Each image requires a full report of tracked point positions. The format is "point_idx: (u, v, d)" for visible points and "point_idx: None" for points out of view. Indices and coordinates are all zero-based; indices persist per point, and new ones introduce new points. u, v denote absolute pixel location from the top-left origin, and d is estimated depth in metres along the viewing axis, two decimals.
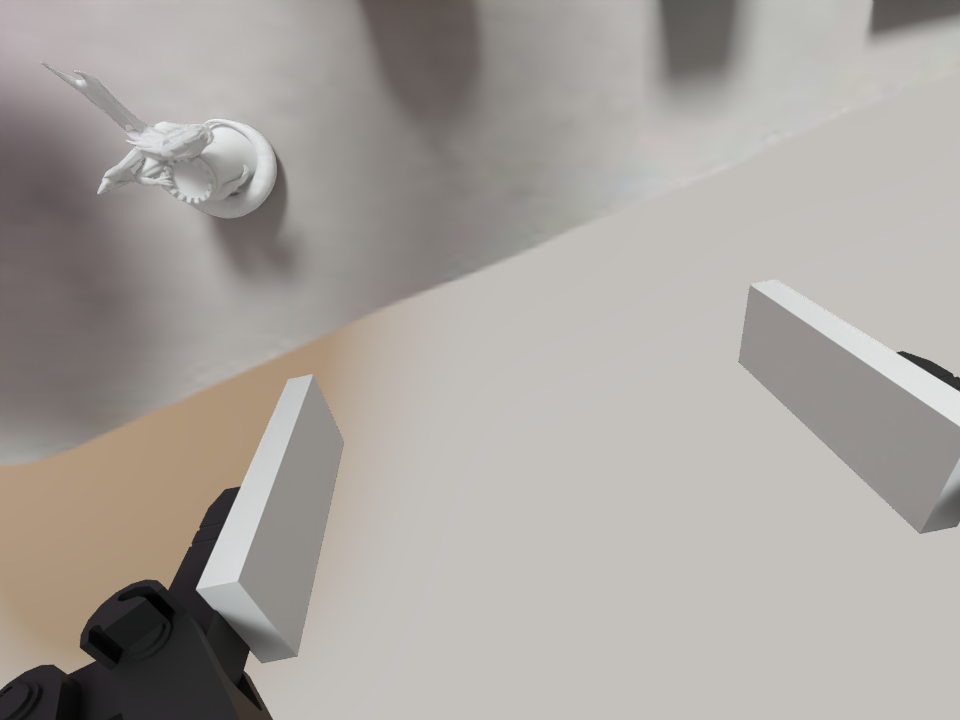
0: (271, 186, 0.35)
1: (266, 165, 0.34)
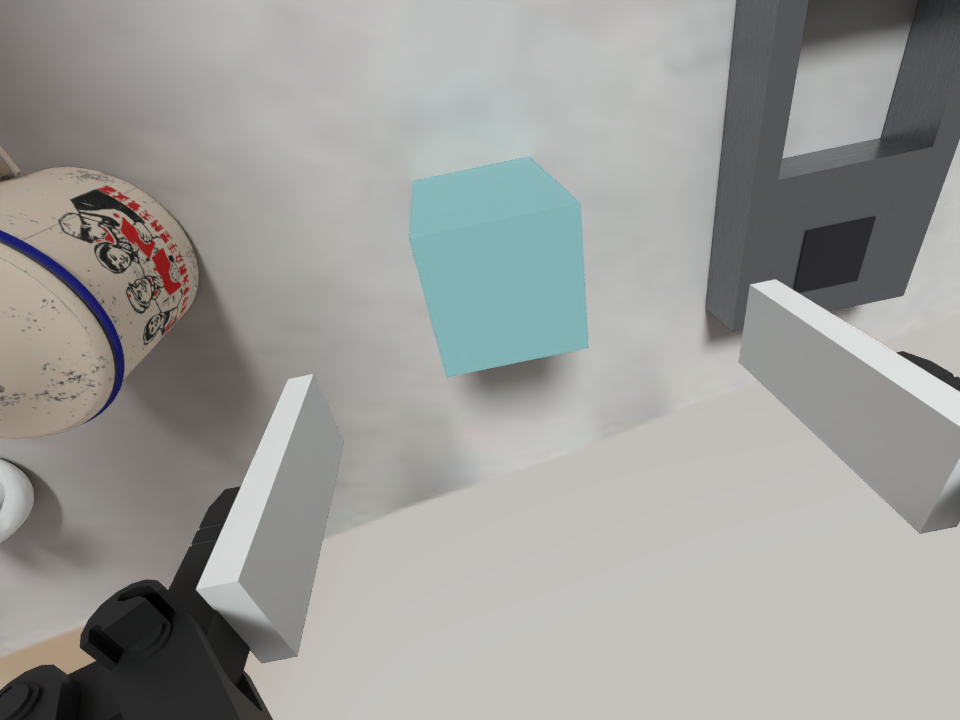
0: (25, 514, 0.31)
1: (13, 498, 0.30)
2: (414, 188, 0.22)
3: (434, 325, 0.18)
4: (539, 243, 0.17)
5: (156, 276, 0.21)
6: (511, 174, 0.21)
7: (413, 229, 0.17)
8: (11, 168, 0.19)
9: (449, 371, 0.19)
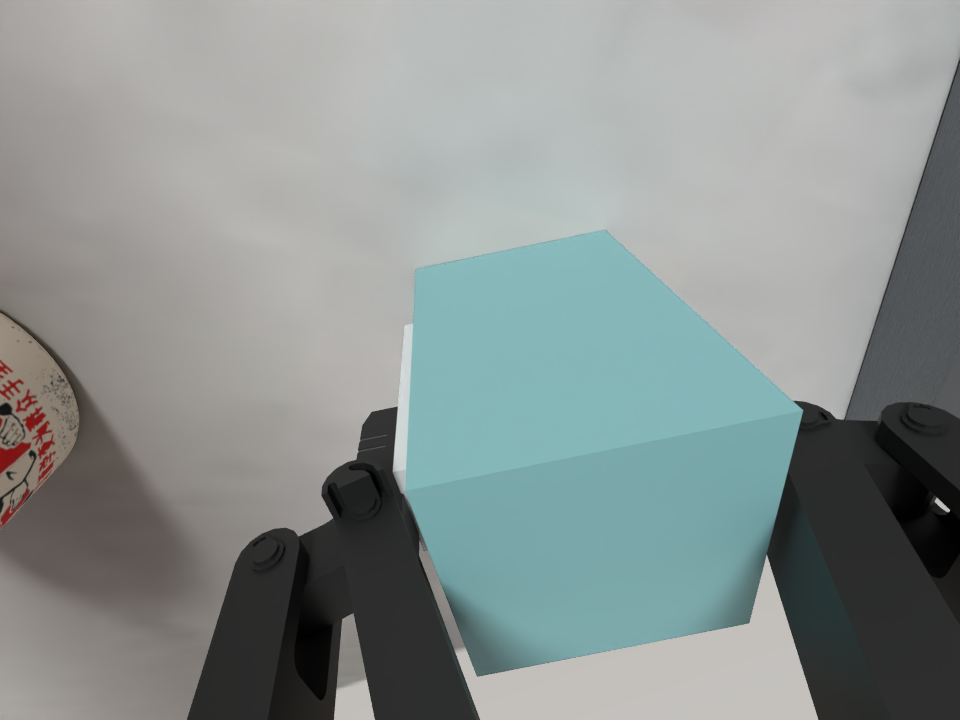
0: None
1: None
2: (418, 291, 0.13)
3: (457, 615, 0.09)
4: (693, 483, 0.08)
5: None
6: (589, 276, 0.12)
7: (415, 447, 0.08)
8: None
9: (483, 669, 0.10)
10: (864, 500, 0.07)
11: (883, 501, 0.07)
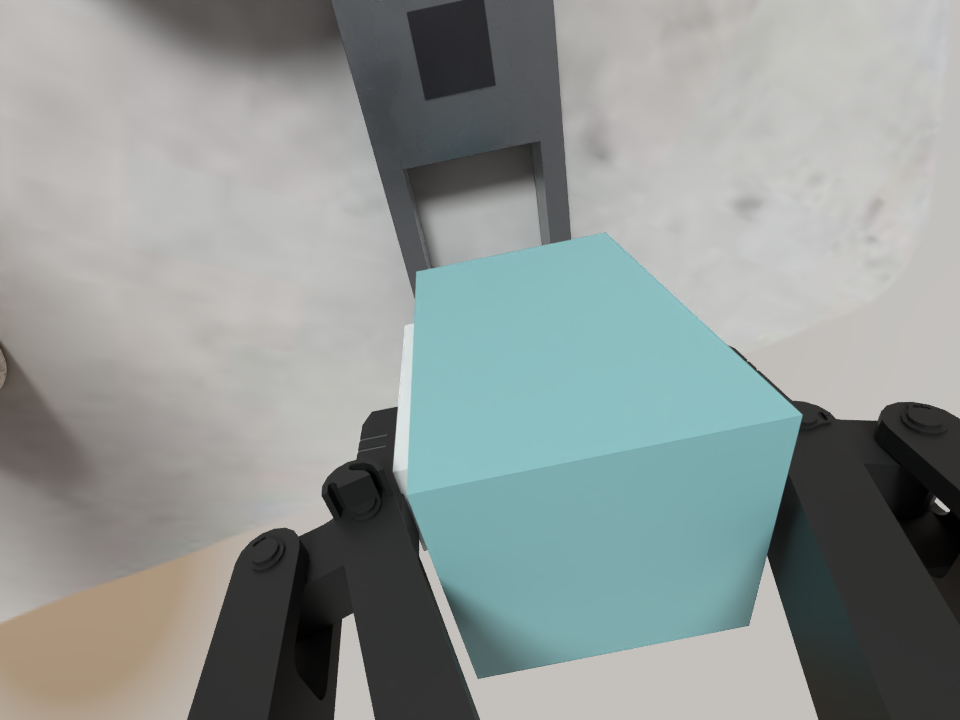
0: None
1: None
2: (419, 294, 0.13)
3: (458, 617, 0.09)
4: (693, 487, 0.08)
5: None
6: (589, 279, 0.12)
7: (416, 451, 0.08)
8: None
9: (484, 671, 0.10)
10: (864, 500, 0.07)
11: (883, 501, 0.07)
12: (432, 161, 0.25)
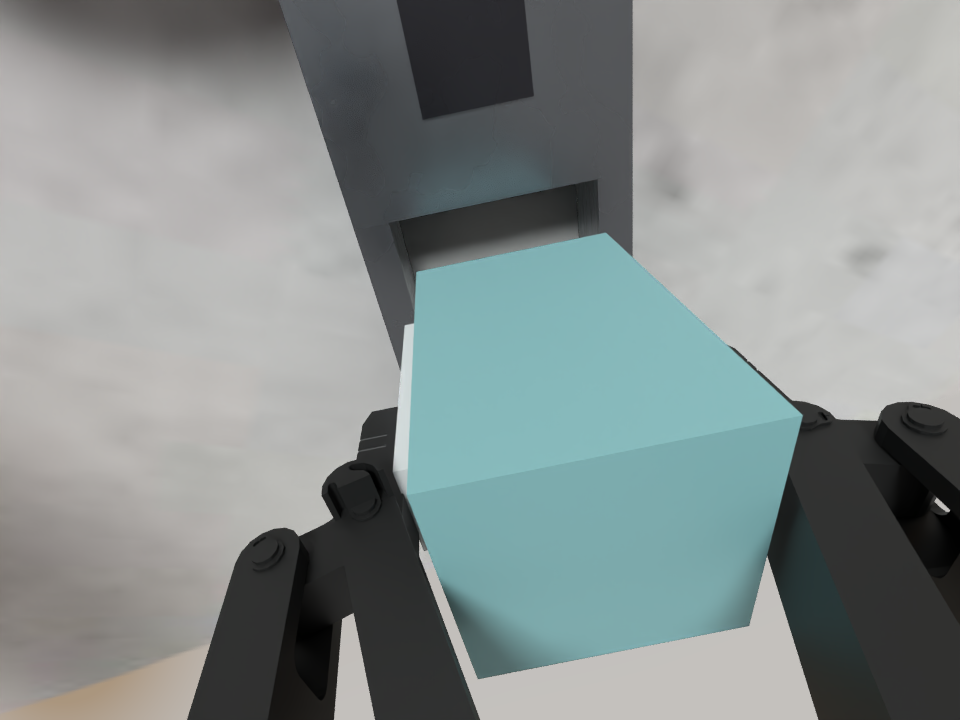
0: None
1: None
2: (419, 294, 0.13)
3: (458, 618, 0.09)
4: (693, 487, 0.08)
5: None
6: (589, 279, 0.12)
7: (416, 451, 0.08)
8: None
9: (484, 671, 0.10)
10: (864, 500, 0.07)
11: (883, 501, 0.07)
12: (433, 210, 0.16)
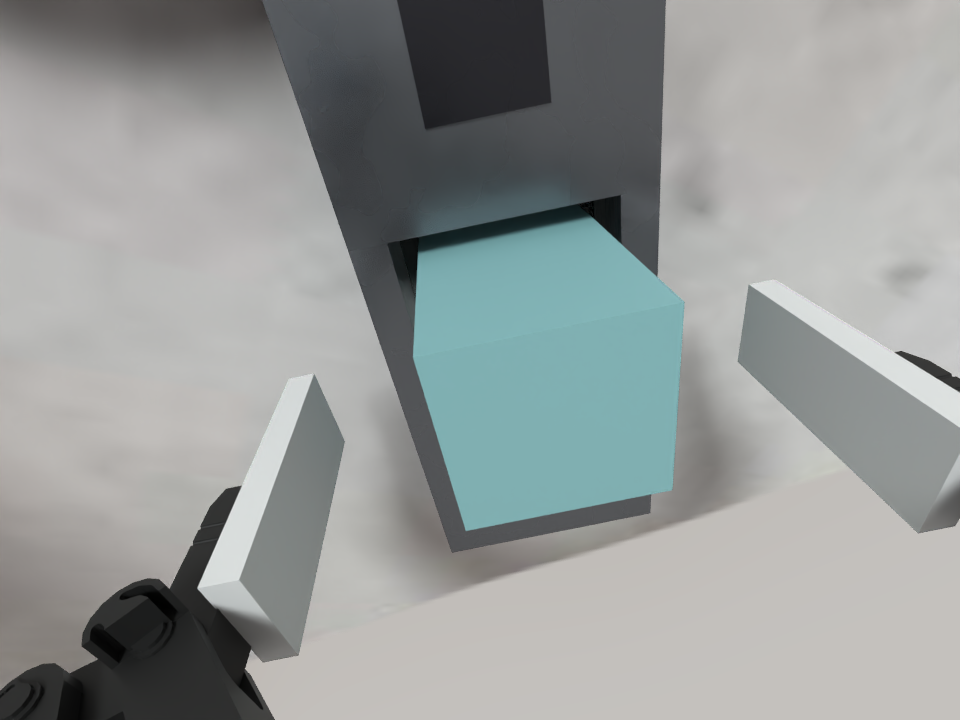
0: None
1: None
2: (421, 247, 0.16)
3: (450, 469, 0.12)
4: (614, 359, 0.11)
5: None
6: (556, 232, 0.15)
7: (419, 336, 0.11)
8: None
9: (470, 523, 0.13)
10: None
11: None
12: (437, 229, 0.15)
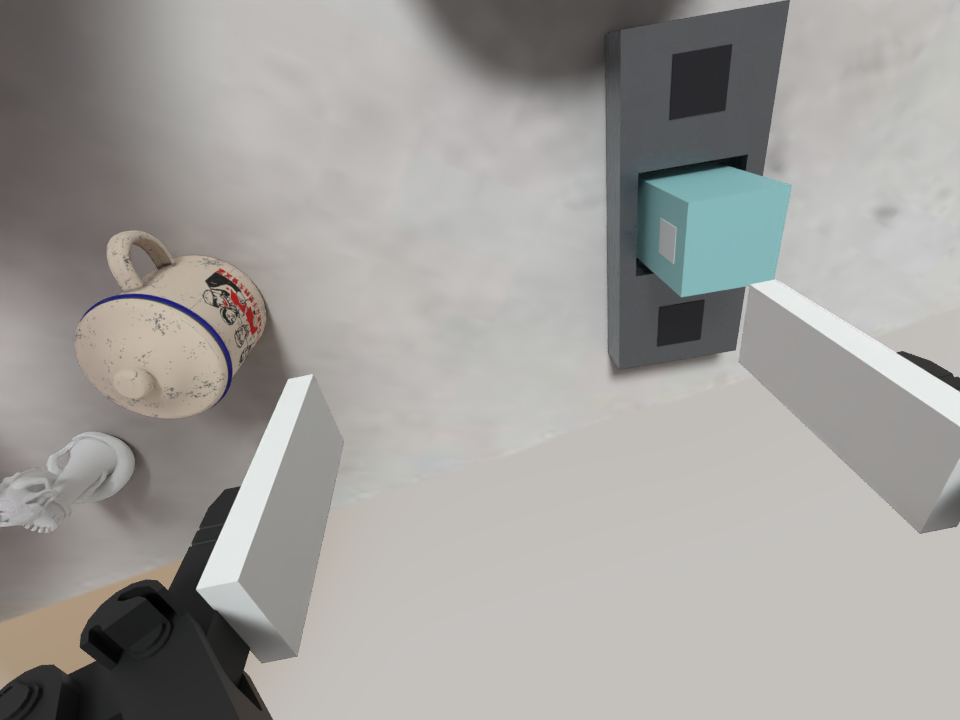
0: (128, 477, 0.44)
1: (123, 465, 0.43)
2: (643, 179, 0.33)
3: (685, 260, 0.29)
4: (761, 209, 0.28)
5: (246, 324, 0.34)
6: (715, 171, 0.32)
7: (683, 198, 0.28)
8: (171, 261, 0.33)
9: (684, 293, 0.30)
10: None
11: None
12: (662, 167, 0.32)
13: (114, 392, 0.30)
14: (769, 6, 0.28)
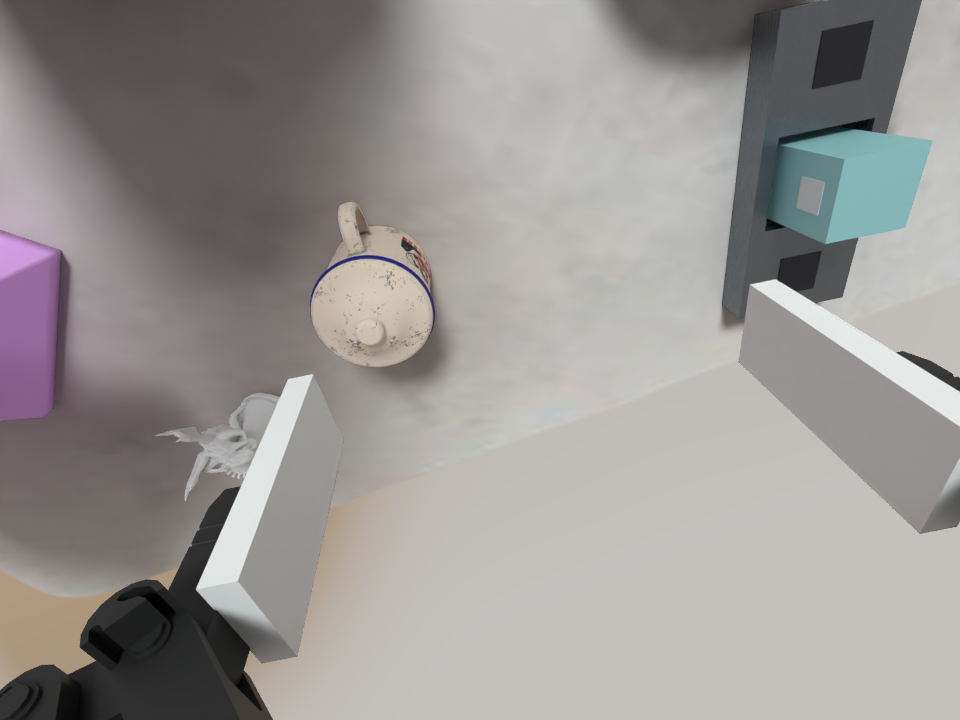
0: None
1: None
2: (778, 143, 0.38)
3: (833, 210, 0.34)
4: (904, 162, 0.32)
5: (429, 285, 0.39)
6: (845, 134, 0.37)
7: (836, 156, 0.33)
8: (368, 229, 0.37)
9: (828, 240, 0.35)
10: None
11: None
12: (800, 131, 0.36)
13: (340, 343, 0.35)
14: None
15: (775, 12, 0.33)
